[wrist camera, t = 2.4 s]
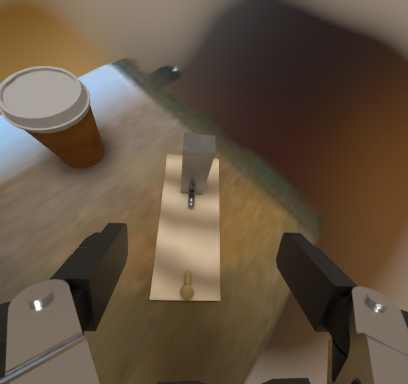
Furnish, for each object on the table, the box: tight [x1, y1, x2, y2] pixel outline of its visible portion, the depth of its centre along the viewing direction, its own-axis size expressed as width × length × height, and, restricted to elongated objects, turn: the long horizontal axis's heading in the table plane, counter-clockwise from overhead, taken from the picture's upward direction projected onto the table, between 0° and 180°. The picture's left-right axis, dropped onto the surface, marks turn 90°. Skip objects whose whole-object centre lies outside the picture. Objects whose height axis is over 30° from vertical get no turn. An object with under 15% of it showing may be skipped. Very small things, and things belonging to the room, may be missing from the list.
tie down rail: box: [150, 154, 220, 301], centre depth 29 cm, size 22×9×4 cm, turn 179°
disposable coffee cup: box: [0, 66, 104, 168], centre depth 28 cm, size 10×10×12 cm
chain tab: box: [180, 133, 215, 208], centre depth 27 cm, size 9×4×11 cm, turn 179°
